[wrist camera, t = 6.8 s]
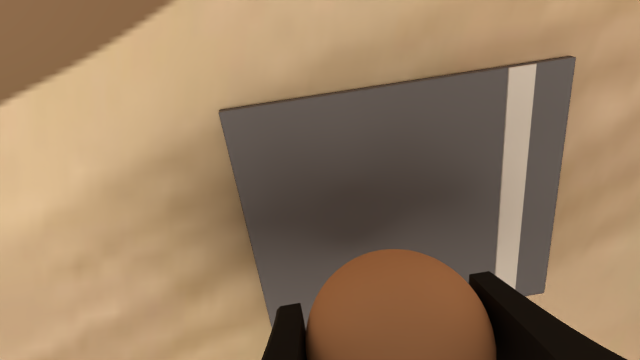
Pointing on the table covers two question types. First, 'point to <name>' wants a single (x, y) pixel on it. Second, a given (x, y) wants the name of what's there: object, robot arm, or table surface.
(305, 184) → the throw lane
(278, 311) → the robot arm
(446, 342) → the ball
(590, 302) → the table surface
